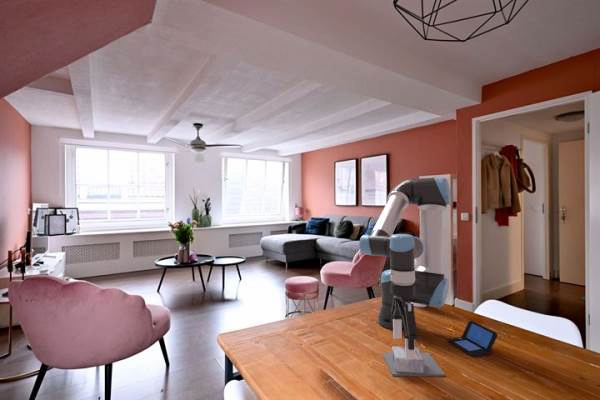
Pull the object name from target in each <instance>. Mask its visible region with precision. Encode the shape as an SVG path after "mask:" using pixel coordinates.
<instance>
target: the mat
mask: <svg viewBox="0 0 600 400" xmlns="http://www.w3.org/2000/svg"><path fill="white" fill-rule="evenodd" d="M420 353H421V355H422V357H423V360H424V373H410V372H396V371H395V368H394V363H393V359H392V352H382V356H383V358H384V361H385V363H386V365H387V367H388V370H389V372H390V374H391V376H392V377H445V376H446V374H445V372H444V371H443V370H442V369H441V367H440V366H439V365H438V363H437V362H436V361H435V359H434V358H433V356H432V355H431V354H430V353H429V352H420Z"/></svg>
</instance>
